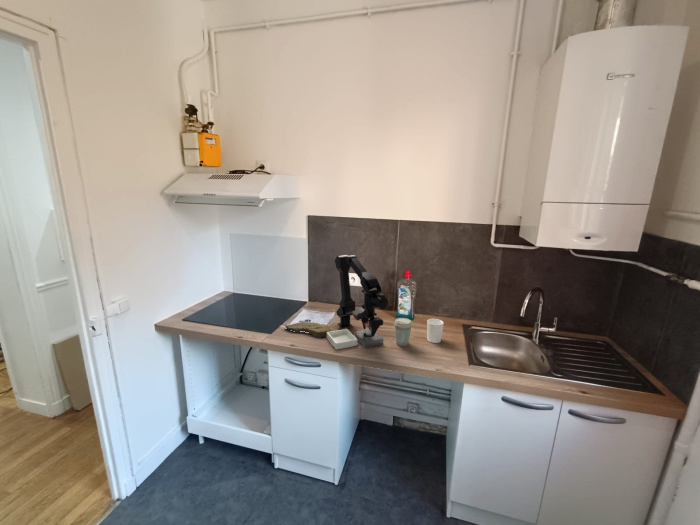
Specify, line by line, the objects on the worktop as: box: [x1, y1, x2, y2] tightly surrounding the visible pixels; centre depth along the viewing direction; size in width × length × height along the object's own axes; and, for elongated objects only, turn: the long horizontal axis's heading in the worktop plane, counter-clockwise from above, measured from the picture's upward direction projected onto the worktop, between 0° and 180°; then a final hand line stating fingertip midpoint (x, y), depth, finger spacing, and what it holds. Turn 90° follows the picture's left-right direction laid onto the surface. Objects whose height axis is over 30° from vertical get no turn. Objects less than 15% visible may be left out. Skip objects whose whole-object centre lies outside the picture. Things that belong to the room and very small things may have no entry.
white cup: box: [426, 318, 444, 344], centre depth 154 cm, size 8×8×10 cm
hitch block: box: [354, 329, 384, 348], centre depth 154 cm, size 12×10×3 cm
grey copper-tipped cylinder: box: [364, 321, 372, 338], centre depth 153 cm, size 4×4×9 cm
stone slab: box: [284, 321, 332, 338], centre depth 164 cm, size 27×12×5 cm, turn 73°
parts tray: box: [326, 328, 358, 350], centre depth 152 cm, size 13×11×3 cm
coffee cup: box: [393, 317, 413, 347], centre depth 150 cm, size 8×9×12 cm
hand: (368, 332), depth 153 cm, fingers open, 8 cm apart
